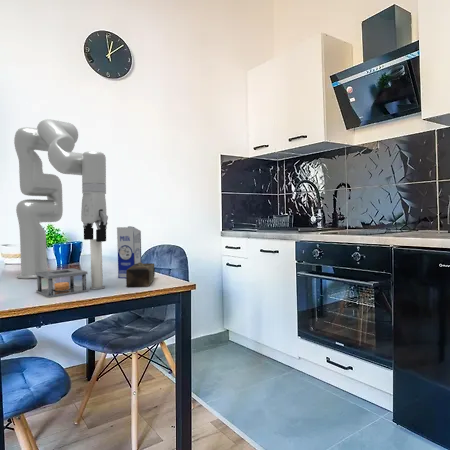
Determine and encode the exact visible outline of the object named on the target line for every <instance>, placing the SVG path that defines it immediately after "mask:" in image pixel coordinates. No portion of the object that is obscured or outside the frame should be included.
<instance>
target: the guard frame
mask: <svg viewBox="0 0 450 450" xmlns="http://www.w3.org/2000/svg"><path fill="white" fill-rule="evenodd" d="M36 275H37V278H36V281H37V282H36V283H37V287H36V288H37V290H36V289H35V291H36V293H37V294H39V295H42V296H45V297H47V298H54V297H61V296H66V295H73V294H81V293H86V292H89V290H88V288H87V275H88V271H87V270H82V269H77V268H73V267H71V268H64V269H56V270H55V269H54V270H53V269H52V270H47V271H44V272H36ZM76 276H81V277H82V278H81V284H82V287H81V286H78V285H75V280H74V279H75V277H76ZM67 277H69V289H68V290H63V291H55V288H54V282H53V279H59V278H67ZM42 278H44V279H47V284H48V285H47V286H48V288H43V287H42Z"/></svg>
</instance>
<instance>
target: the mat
mask: <svg viewBox="0 0 450 450" xmlns="http://www.w3.org/2000/svg"><path fill="white" fill-rule="evenodd" d="M103 289H106V286H105V285H103V287H100V288H92V286H90V287H89V290H93V291H95V290H97V291H98V290H103Z"/></svg>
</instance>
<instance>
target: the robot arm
mask: <svg viewBox="0 0 450 450" xmlns="http://www.w3.org/2000/svg"><path fill="white" fill-rule="evenodd" d="M78 138H79V131H78V129H77V127H76V126H75V125H74V124H73V123H70V122H66V121H60V120H55V119H48V118H47V119H44V120H41V121H40V122H39V123H38V124H37V127H27V126H26V127H21V128H18V129H17V130H16V132H15V134H14V140H13V141H14V142H13V143H14V144H13V145H14V149H15V152H16V156H17V158H18V168H19V170H18V173H19V189H20V193H22V194H23V195H25V196H28V197H46V198H47V199H39V198H38V199H37V198H36V199H35V198H34V199H33V198H29V199H23V200H21V201H19V202H18V203H17V204H16V209H15V210H16V211H15V212H16V217H17V221H18V228H19V247H20V248H19V249H20V273H18V274H17V275H16V277H17V278H18V279H37V275H36V272H44V271H48V264H47V263H48V261H47V259H48V258H47V256H48V255H47V233H46V231H45V229H44V228H43V226H42V225H41V224H42V223H56V222H58V221H60V220H61V219H62V218H63V211H64V208H63V207H64V206H63V205H64V204H63V184H62V182H61V178H59V176H58V175H56V174H53V173H44V171H43V170H44V169H43V161H42V159H41V157H40V156H39V154H38V153H37V152H36V151H41V152H47V158H48V161H49V164H51V166H52V167H53V168H54V169H55V170H56V171H57V172H58V173H60V174H62V175H63V174H64V175H73V176H75V175H76V176H81V186H82V187H81V190H82V191H81V192H82V193H81V194H82V198H81V199H82V200H81V208H80V209H81V210H80V212H81V214H80V219H81V222H82V223H83V225H82V227H83V240H85V241H88V240H89V241H90V240H91V239H94V227H93V226H94V223H95V226H96V231H95V237H96V238H95V239H96V241H97V242H107V229H108V227H107V225H108V219H109V215H107V199H106V194H107V163H106V162H107V159H106V158H107V157H106V154H104V153H103V152H101V151H100V152H99V151H85V152H83V153H82V152H75V151H73V150H74V149H75V147H76V143H77V141H78Z"/></svg>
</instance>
